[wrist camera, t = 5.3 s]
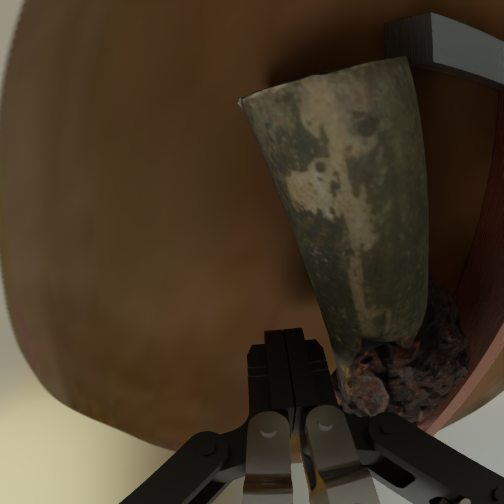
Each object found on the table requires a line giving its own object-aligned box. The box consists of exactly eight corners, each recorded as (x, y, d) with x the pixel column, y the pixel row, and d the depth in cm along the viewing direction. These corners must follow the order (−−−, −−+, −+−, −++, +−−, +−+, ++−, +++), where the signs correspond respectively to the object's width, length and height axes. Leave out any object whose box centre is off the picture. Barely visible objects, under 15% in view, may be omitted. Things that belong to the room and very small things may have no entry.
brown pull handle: (518, 68, 7) (582, 84, 4) (415, 399, 20) (429, 439, 17) (384, 23, 7) (451, 8, 4) (328, 418, 20) (337, 463, 17)
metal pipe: (235, 92, 9) (233, 100, 4) (410, 53, 8) (522, 57, 3) (332, 388, 18) (350, 464, 13) (426, 354, 17) (458, 422, 12)
